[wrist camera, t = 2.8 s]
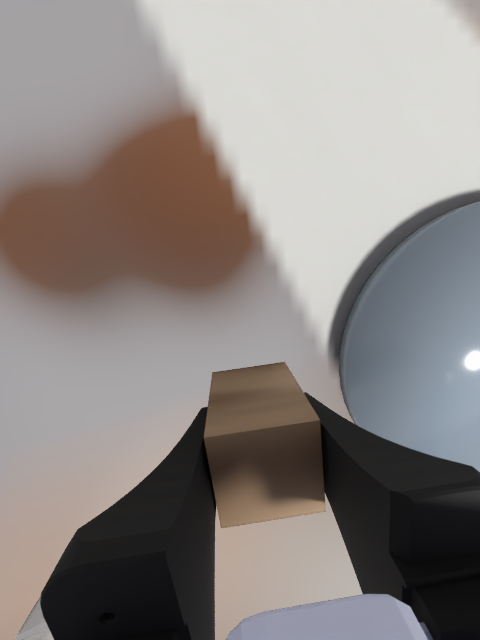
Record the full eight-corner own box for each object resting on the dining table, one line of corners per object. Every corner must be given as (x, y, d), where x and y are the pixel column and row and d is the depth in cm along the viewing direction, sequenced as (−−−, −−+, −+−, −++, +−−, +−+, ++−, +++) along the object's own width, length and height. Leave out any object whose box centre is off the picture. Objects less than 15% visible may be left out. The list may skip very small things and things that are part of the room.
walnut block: (290, 424, 14) (325, 511, 9) (223, 435, 14) (221, 528, 9) (284, 362, 13) (320, 420, 8) (212, 372, 13) (203, 437, 8)
